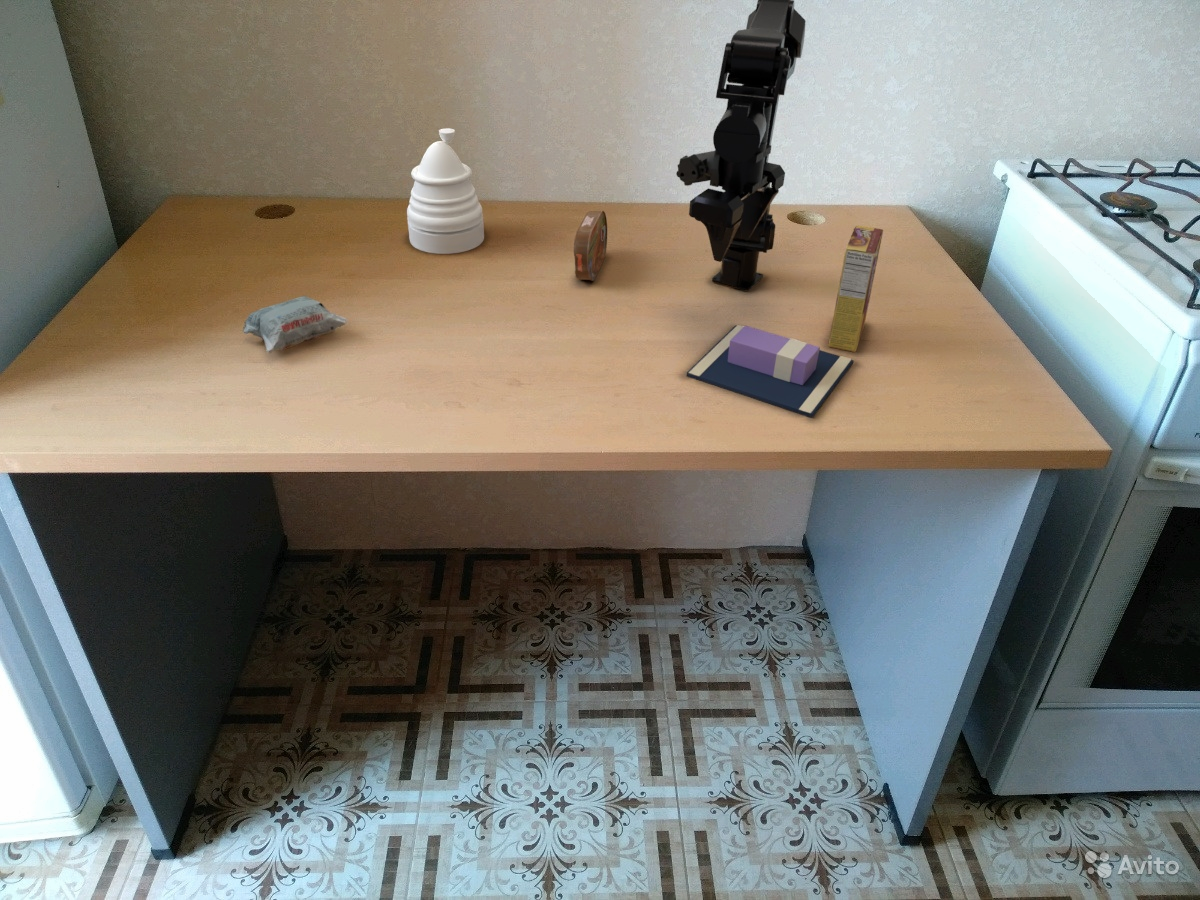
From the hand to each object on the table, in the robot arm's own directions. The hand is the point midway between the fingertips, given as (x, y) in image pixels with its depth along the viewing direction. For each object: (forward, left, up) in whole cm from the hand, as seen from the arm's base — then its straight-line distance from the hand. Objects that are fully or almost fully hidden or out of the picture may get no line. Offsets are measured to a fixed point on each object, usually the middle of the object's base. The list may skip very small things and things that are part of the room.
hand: (731, 249), depth 126 cm
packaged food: (+39, -48, -12) cm, 63 cm away
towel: (+9, +11, -12) cm, 19 cm away
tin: (-4, -26, -12) cm, 29 cm away
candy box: (-6, +17, -12) cm, 22 cm away
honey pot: (0, -53, -12) cm, 54 cm away
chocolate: (+9, +11, -11) cm, 18 cm away
